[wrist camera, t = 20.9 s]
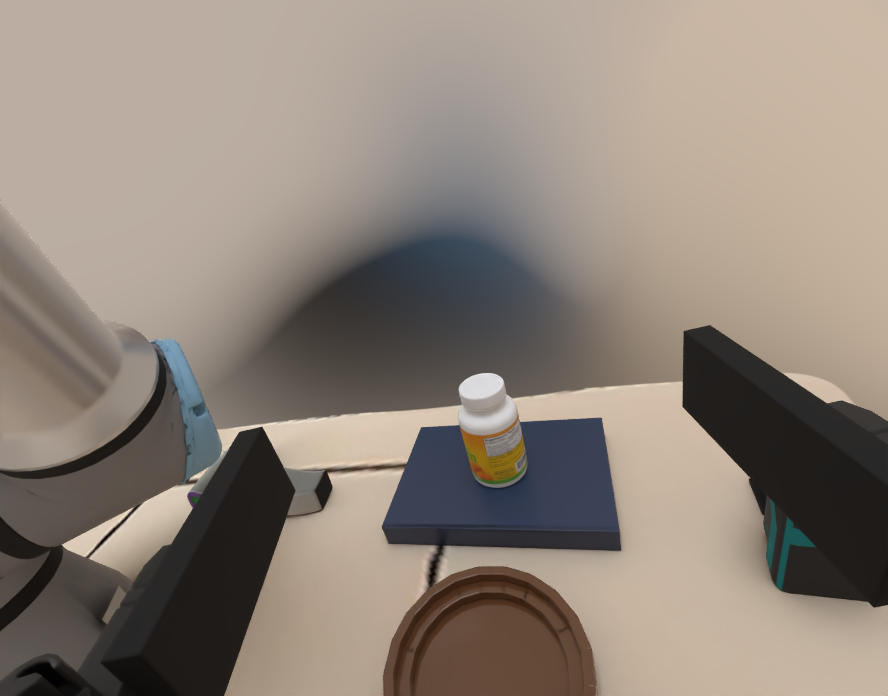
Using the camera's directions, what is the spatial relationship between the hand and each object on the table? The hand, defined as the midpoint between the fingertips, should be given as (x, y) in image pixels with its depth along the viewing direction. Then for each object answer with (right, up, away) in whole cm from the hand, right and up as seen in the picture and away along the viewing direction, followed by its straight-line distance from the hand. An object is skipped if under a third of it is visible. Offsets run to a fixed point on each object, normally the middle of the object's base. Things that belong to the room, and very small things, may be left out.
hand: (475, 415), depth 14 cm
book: (+5, -11, +29) cm, 32 cm away
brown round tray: (+2, -19, +15) cm, 25 cm away
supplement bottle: (+4, -10, +28) cm, 30 cm away
